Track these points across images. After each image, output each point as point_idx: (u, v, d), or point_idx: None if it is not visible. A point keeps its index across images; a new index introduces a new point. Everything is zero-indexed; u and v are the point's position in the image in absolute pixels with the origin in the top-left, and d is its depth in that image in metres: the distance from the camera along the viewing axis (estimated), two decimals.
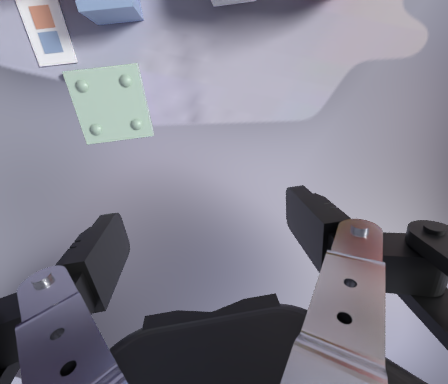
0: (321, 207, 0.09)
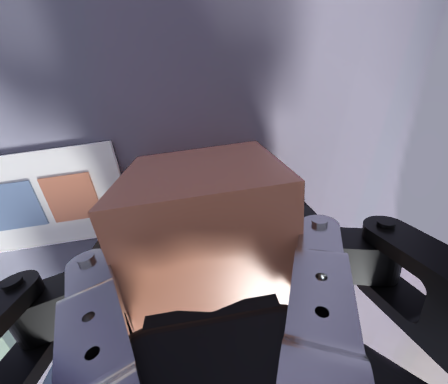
0: None
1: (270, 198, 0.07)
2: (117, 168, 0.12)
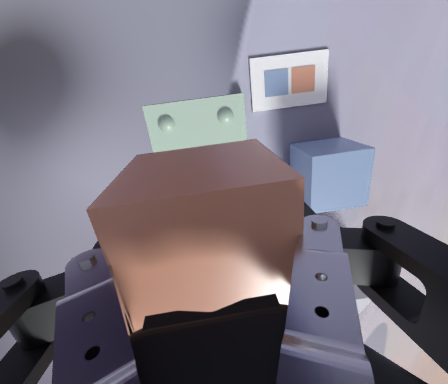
0: None
1: (270, 195, 0.07)
2: (327, 64, 0.24)
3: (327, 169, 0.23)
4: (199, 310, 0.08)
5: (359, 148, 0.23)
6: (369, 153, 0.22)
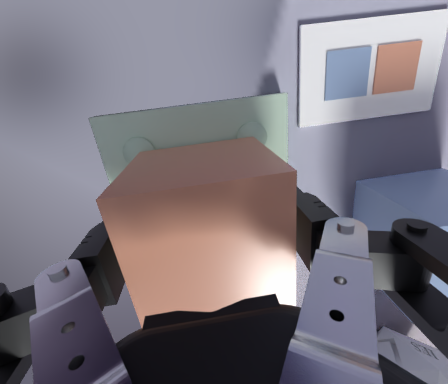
0: (310, 206, 0.09)
1: (264, 187, 0.07)
2: (444, 38, 0.13)
3: None
4: (199, 296, 0.09)
5: None
6: None
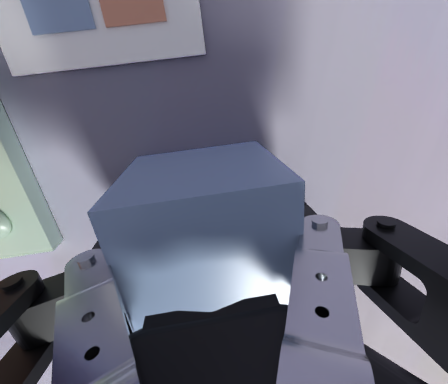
0: None
1: None
2: None
3: (155, 247, 0.07)
4: None
5: (259, 180, 0.07)
6: (288, 197, 0.07)
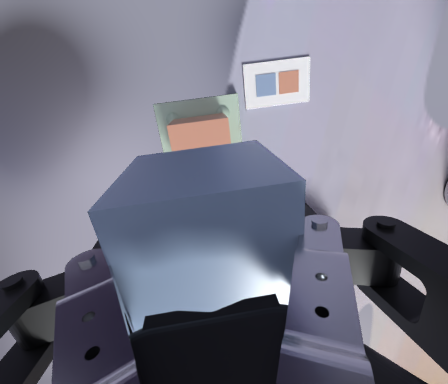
0: None
1: (218, 123, 0.24)
2: (309, 69, 0.29)
3: (155, 246, 0.07)
4: None
5: (260, 179, 0.07)
6: (289, 196, 0.07)
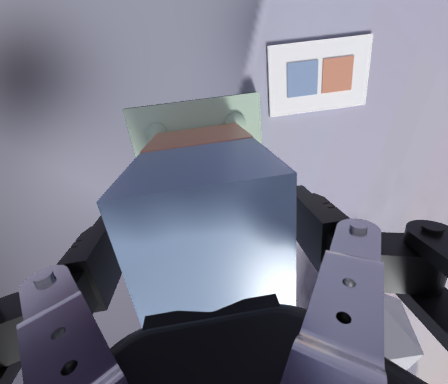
0: (320, 207, 0.09)
1: None
2: (370, 54, 0.18)
3: (158, 235, 0.08)
4: None
5: (255, 172, 0.08)
6: (281, 187, 0.07)
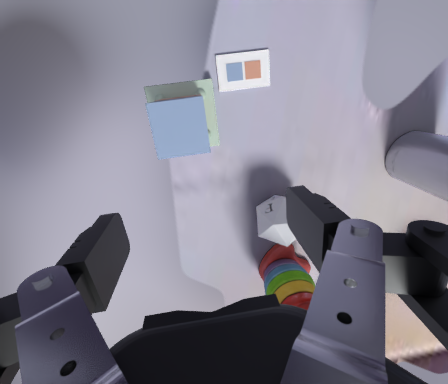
0: (321, 207, 0.09)
1: None
2: None
3: (162, 116, 0.26)
4: None
5: (192, 97, 0.26)
6: (198, 101, 0.25)
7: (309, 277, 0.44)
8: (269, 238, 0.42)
